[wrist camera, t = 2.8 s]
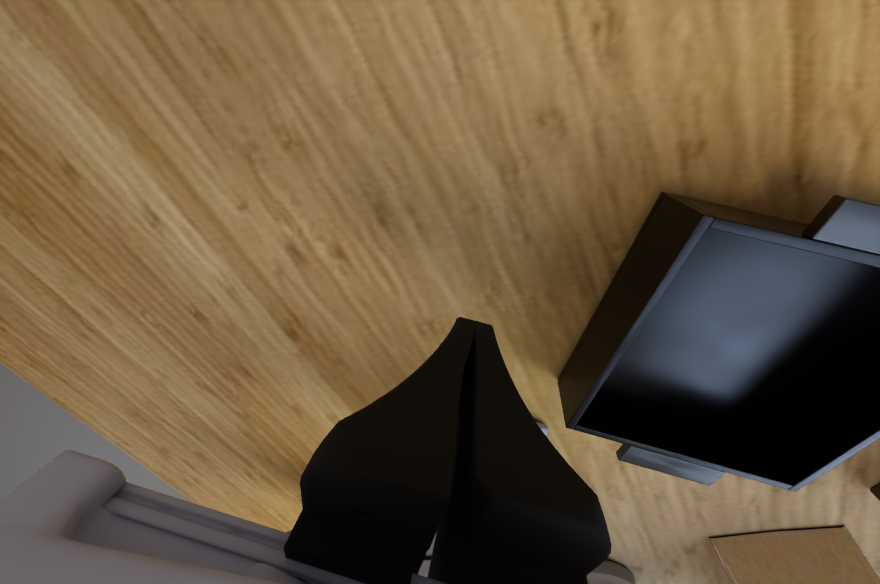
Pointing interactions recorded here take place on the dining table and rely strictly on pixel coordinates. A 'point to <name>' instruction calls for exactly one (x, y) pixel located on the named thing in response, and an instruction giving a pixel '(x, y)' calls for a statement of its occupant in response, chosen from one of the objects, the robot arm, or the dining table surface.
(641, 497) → the dining table surface
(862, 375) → the roasting tin
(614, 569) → the travel mug
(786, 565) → the sandwich container
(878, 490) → the back rail
